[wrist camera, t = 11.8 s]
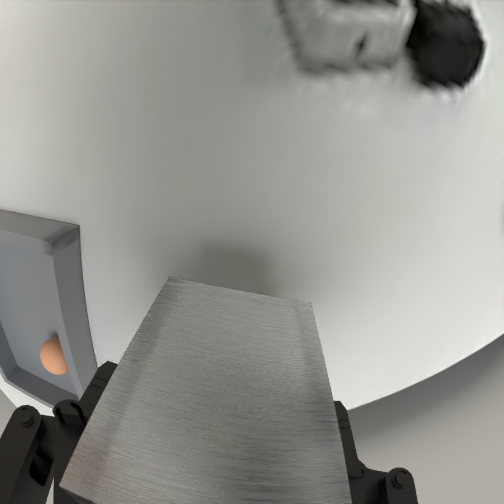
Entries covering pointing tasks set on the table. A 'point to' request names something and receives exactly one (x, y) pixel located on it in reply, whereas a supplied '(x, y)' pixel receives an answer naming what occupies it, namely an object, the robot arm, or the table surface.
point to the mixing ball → (53, 357)
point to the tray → (43, 307)
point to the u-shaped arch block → (215, 408)
